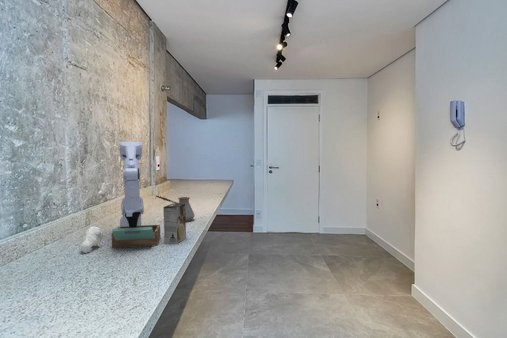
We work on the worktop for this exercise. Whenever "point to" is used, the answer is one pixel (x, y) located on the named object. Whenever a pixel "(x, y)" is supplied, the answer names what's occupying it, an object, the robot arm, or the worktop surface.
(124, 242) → the brown wooden open box
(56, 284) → the worktop surface
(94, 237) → the white rounded lump
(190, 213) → the coffee pot
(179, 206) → the coffee box
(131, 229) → the panel
